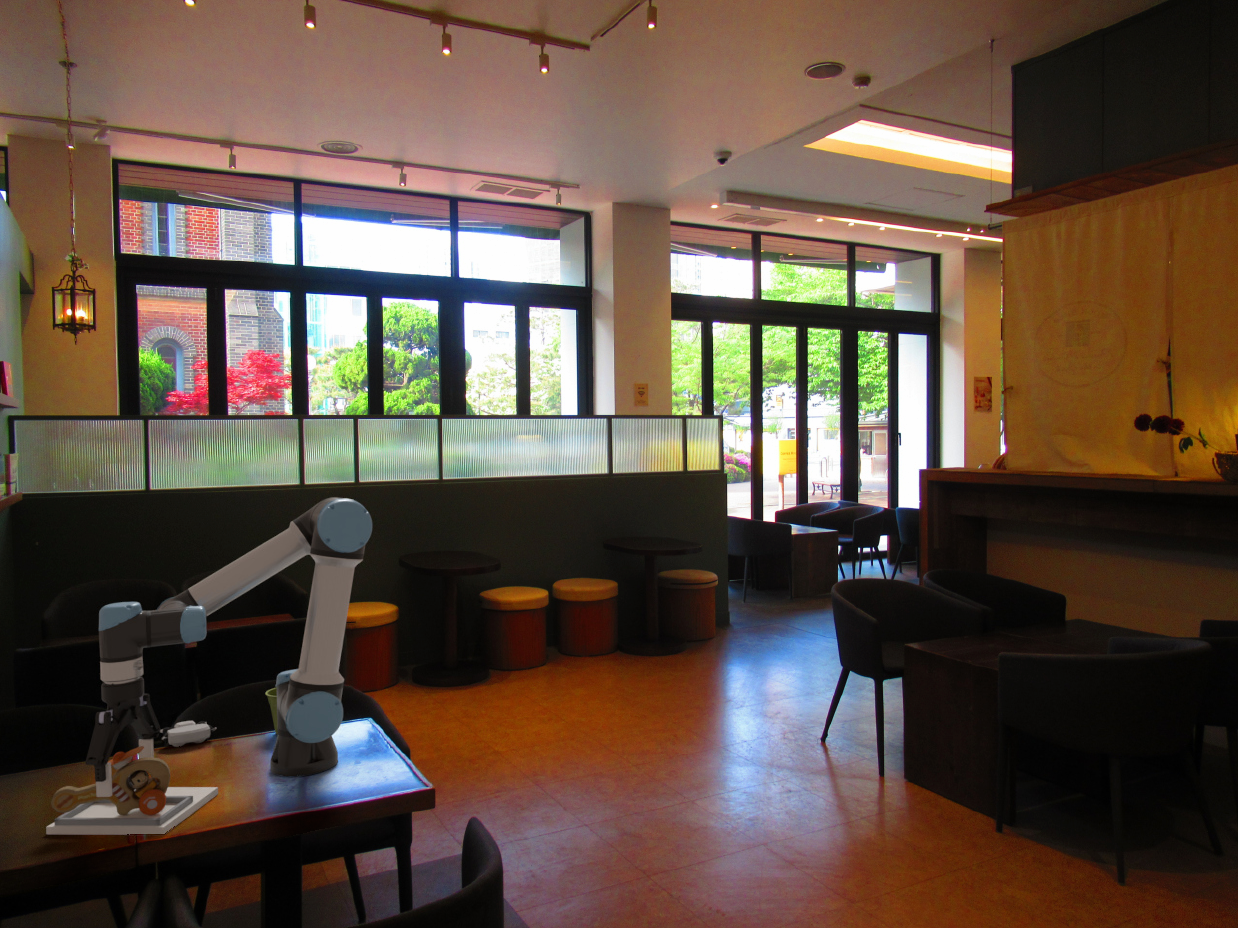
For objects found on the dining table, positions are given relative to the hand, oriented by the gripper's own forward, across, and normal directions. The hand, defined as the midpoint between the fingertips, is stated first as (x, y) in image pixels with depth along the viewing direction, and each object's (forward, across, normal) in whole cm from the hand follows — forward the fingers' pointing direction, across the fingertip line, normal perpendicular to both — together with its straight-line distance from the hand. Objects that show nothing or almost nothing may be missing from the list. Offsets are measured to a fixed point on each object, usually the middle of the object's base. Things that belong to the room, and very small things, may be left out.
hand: (126, 782), depth 172 cm
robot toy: (+8, +48, +16) cm, 52 cm away
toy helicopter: (+6, -1, +1) cm, 6 cm away
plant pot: (+8, +55, -9) cm, 57 cm away
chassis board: (+8, +3, 0) cm, 8 cm away
